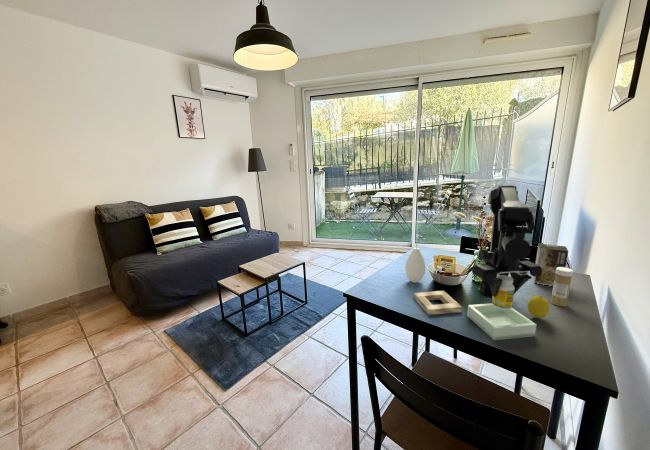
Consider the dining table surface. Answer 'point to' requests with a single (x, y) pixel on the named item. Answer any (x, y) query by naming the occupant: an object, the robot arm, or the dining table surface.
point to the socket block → (430, 309)
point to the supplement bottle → (504, 294)
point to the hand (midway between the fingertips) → (502, 295)
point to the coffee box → (550, 262)
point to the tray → (501, 322)
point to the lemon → (538, 307)
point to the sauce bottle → (415, 266)
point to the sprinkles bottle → (561, 286)
